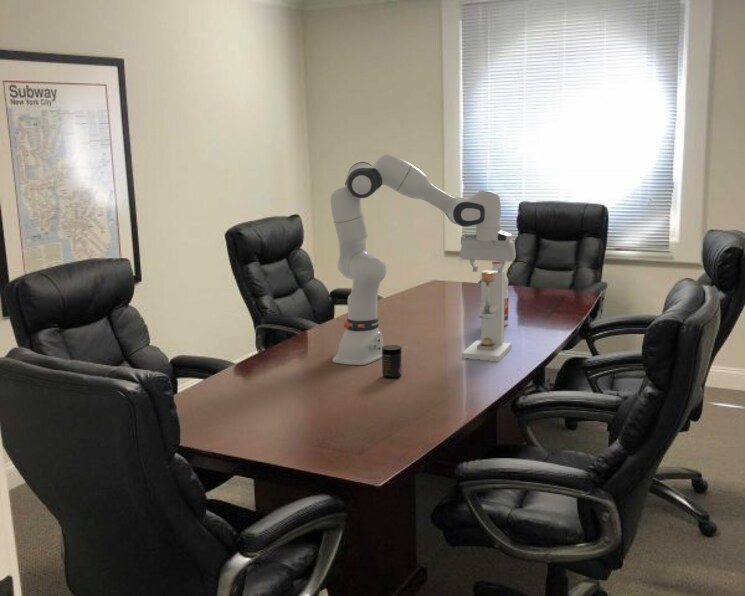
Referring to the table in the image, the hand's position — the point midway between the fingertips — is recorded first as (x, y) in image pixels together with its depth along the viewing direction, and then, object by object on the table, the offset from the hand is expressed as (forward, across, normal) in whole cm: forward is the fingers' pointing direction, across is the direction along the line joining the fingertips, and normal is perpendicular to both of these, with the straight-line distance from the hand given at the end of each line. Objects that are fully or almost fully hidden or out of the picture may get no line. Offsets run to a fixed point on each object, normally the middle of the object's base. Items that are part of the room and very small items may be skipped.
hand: (487, 272), depth 297 cm
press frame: (+31, 0, 0) cm, 31 cm away
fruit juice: (+31, -8, +48) cm, 58 cm away
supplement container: (+32, -23, -40) cm, 56 cm away
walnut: (+27, 0, 0) cm, 27 cm away
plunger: (+17, 0, 0) cm, 17 cm away
